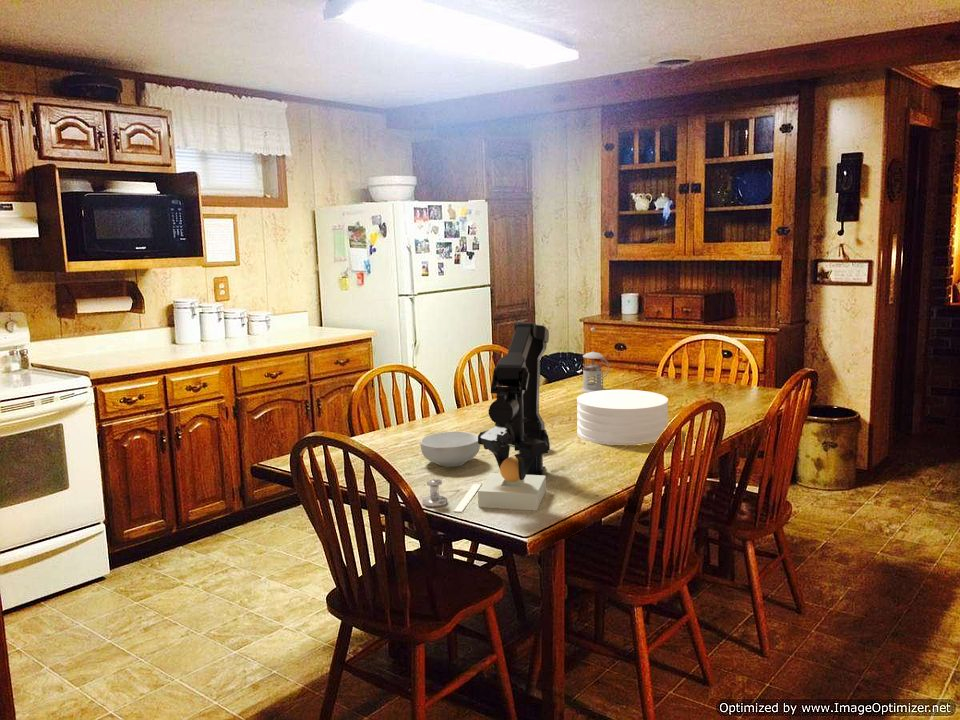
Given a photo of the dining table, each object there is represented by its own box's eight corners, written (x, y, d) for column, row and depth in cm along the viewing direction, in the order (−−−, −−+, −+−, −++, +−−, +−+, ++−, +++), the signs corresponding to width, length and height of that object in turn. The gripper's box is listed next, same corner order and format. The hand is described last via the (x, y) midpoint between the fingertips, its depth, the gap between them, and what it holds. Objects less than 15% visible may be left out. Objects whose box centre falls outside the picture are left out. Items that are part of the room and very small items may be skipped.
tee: (426, 498, 197) (425, 476, 196) (450, 499, 196) (449, 478, 195) (419, 506, 191) (418, 484, 191) (443, 508, 190) (442, 485, 189)
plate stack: (669, 425, 262) (670, 390, 260) (665, 448, 236) (666, 410, 234) (583, 421, 270) (583, 388, 268) (570, 444, 243) (570, 407, 241)
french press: (576, 388, 322) (576, 326, 318) (602, 386, 325) (603, 325, 321) (587, 393, 313) (586, 329, 309) (614, 391, 316) (614, 328, 312)
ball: (508, 469, 199) (495, 456, 196) (529, 462, 197) (516, 449, 193) (508, 489, 195) (495, 476, 191) (529, 482, 192) (516, 469, 189)
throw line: (473, 484, 207) (473, 483, 207) (481, 485, 206) (481, 484, 206) (453, 511, 187) (453, 511, 187) (461, 512, 187) (461, 511, 187)
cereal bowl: (448, 451, 238) (448, 428, 237) (492, 460, 228) (492, 436, 226) (408, 465, 225) (407, 440, 224) (453, 475, 215) (452, 450, 214)
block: (491, 488, 204) (490, 473, 203) (545, 491, 200) (545, 475, 200) (478, 507, 190) (478, 490, 189) (536, 510, 187) (536, 494, 186)
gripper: (460, 414, 193) (462, 476, 196) (515, 427, 180) (516, 494, 182) (493, 406, 201) (495, 466, 203) (549, 418, 187) (549, 482, 190)
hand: (512, 477), depth 194 cm, fingers closed on ball, 6 cm apart
